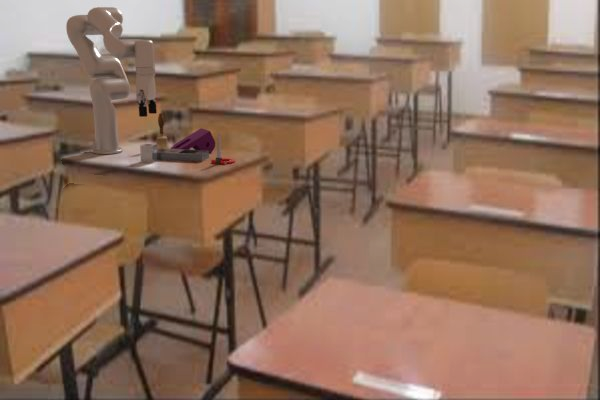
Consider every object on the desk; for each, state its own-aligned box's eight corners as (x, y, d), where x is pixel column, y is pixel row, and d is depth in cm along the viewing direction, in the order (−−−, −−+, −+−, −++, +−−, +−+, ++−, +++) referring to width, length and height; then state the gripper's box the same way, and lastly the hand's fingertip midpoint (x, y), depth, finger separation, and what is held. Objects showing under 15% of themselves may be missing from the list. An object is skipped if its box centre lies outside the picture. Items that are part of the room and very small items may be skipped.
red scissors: (222, 160, 311) (209, 163, 303) (222, 129, 308) (209, 131, 300) (239, 162, 307) (226, 165, 299) (239, 131, 304) (226, 133, 296)
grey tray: (151, 159, 310) (150, 152, 309) (159, 155, 318) (159, 148, 317) (202, 161, 305) (201, 154, 305) (209, 157, 314) (208, 150, 313)
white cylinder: (141, 162, 303) (140, 145, 302) (145, 160, 308) (145, 143, 306) (152, 163, 302) (151, 146, 301) (157, 160, 307) (156, 143, 305)
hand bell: (149, 150, 329) (147, 114, 325) (158, 147, 337) (156, 111, 333) (166, 151, 327) (165, 115, 323) (175, 148, 334) (173, 112, 330)
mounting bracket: (184, 169, 320) (218, 147, 326) (175, 152, 316) (210, 131, 322) (175, 165, 328) (209, 144, 334) (167, 148, 324) (201, 128, 330)
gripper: (145, 70, 305) (147, 112, 310) (127, 73, 289) (130, 117, 293) (162, 70, 304) (164, 112, 308) (146, 73, 288) (148, 117, 292)
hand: (148, 114), depth 301 cm, fingers open, 9 cm apart
